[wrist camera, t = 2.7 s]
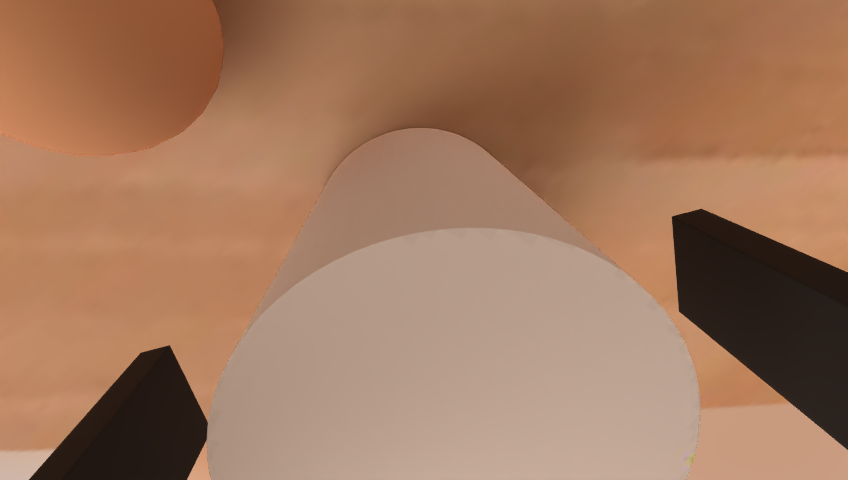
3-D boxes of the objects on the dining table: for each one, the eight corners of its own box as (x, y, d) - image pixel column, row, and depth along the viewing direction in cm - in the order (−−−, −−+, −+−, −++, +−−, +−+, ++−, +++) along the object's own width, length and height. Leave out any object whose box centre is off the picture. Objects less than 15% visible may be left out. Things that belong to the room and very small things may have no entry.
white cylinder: (421, 356, 21) (455, 682, 10) (272, 235, 19) (100, 480, 8) (561, 227, 20) (790, 442, 8) (418, 79, 17) (468, 100, 6)
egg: (156, 171, 18) (-23, 249, 10) (9, 13, 16) (-350, -38, 8) (292, 64, 17) (209, 59, 9) (154, -118, 15) (-98, -315, 7)
